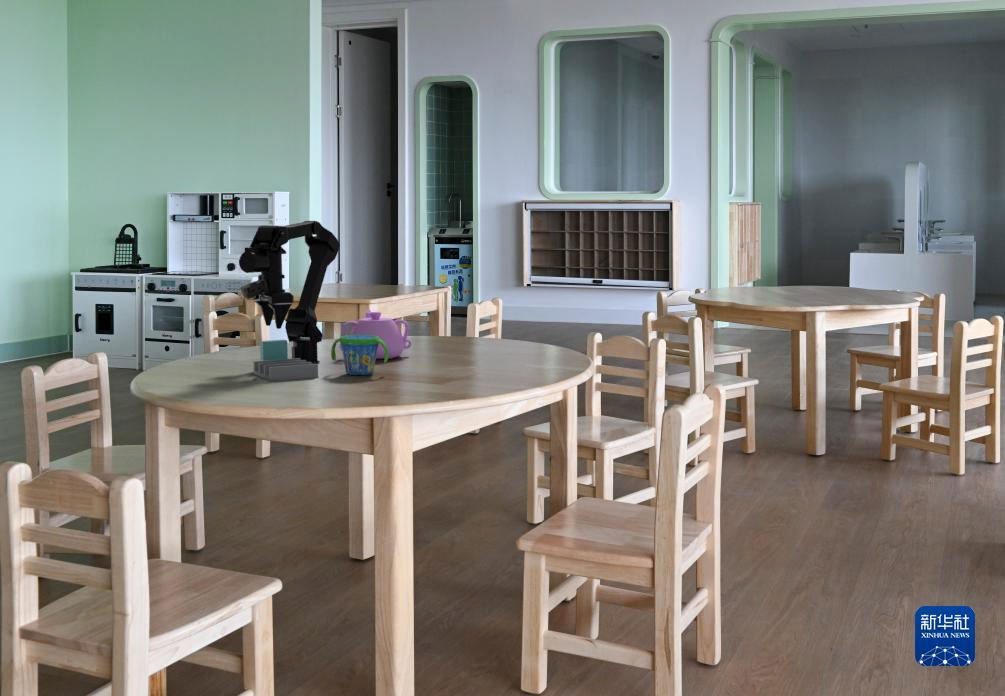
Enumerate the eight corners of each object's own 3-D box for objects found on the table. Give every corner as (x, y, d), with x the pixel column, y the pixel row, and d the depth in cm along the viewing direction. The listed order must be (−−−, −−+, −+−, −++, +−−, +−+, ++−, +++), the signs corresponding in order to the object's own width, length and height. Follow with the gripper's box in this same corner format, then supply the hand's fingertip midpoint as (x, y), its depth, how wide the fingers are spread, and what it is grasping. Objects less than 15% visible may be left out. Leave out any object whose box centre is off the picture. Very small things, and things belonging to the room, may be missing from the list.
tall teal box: (285, 367, 307) (284, 339, 306) (287, 368, 305) (287, 340, 304) (260, 369, 304) (260, 341, 303) (263, 370, 302) (262, 341, 301)
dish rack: (299, 370, 301) (299, 358, 301) (318, 377, 288) (318, 364, 288) (253, 374, 295) (253, 361, 294) (270, 381, 282) (270, 367, 282)
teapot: (401, 351, 345) (401, 307, 343) (418, 359, 324) (417, 313, 323) (332, 353, 338) (331, 309, 336) (345, 362, 317) (344, 315, 316)
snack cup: (394, 372, 297) (393, 335, 296) (378, 378, 287) (378, 339, 286) (342, 370, 302) (341, 333, 301) (325, 375, 292) (324, 337, 291)
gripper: (233, 270, 305) (235, 325, 307) (253, 273, 289) (255, 332, 291) (271, 269, 311) (273, 323, 313) (293, 272, 295) (295, 329, 297)
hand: (273, 327), depth 303 cm, fingers open, 9 cm apart
